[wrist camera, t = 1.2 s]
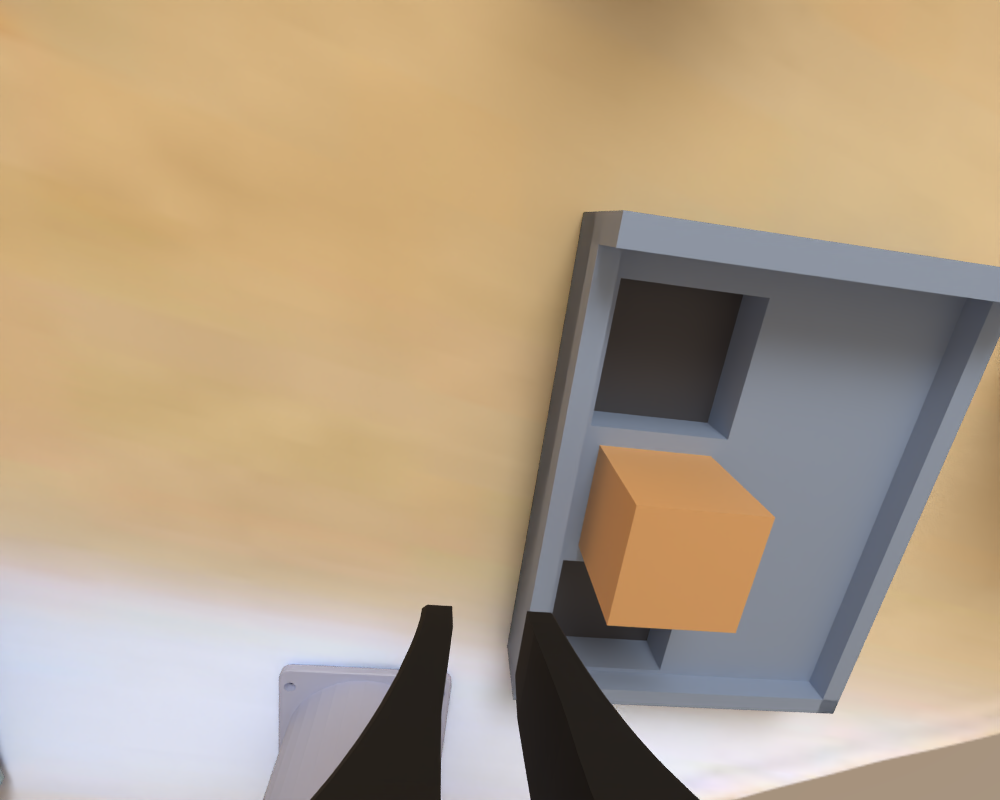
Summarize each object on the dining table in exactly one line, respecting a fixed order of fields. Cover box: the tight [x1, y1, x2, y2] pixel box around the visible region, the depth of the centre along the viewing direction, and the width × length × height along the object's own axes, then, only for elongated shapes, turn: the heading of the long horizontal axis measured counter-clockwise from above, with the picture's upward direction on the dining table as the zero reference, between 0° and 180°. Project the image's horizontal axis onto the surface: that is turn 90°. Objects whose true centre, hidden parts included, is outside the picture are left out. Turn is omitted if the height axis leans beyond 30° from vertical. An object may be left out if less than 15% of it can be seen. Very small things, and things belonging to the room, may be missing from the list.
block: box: [578, 445, 775, 633], centre depth 19 cm, size 4×4×4 cm
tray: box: [507, 210, 1000, 714], centre depth 21 cm, size 20×15×5 cm
